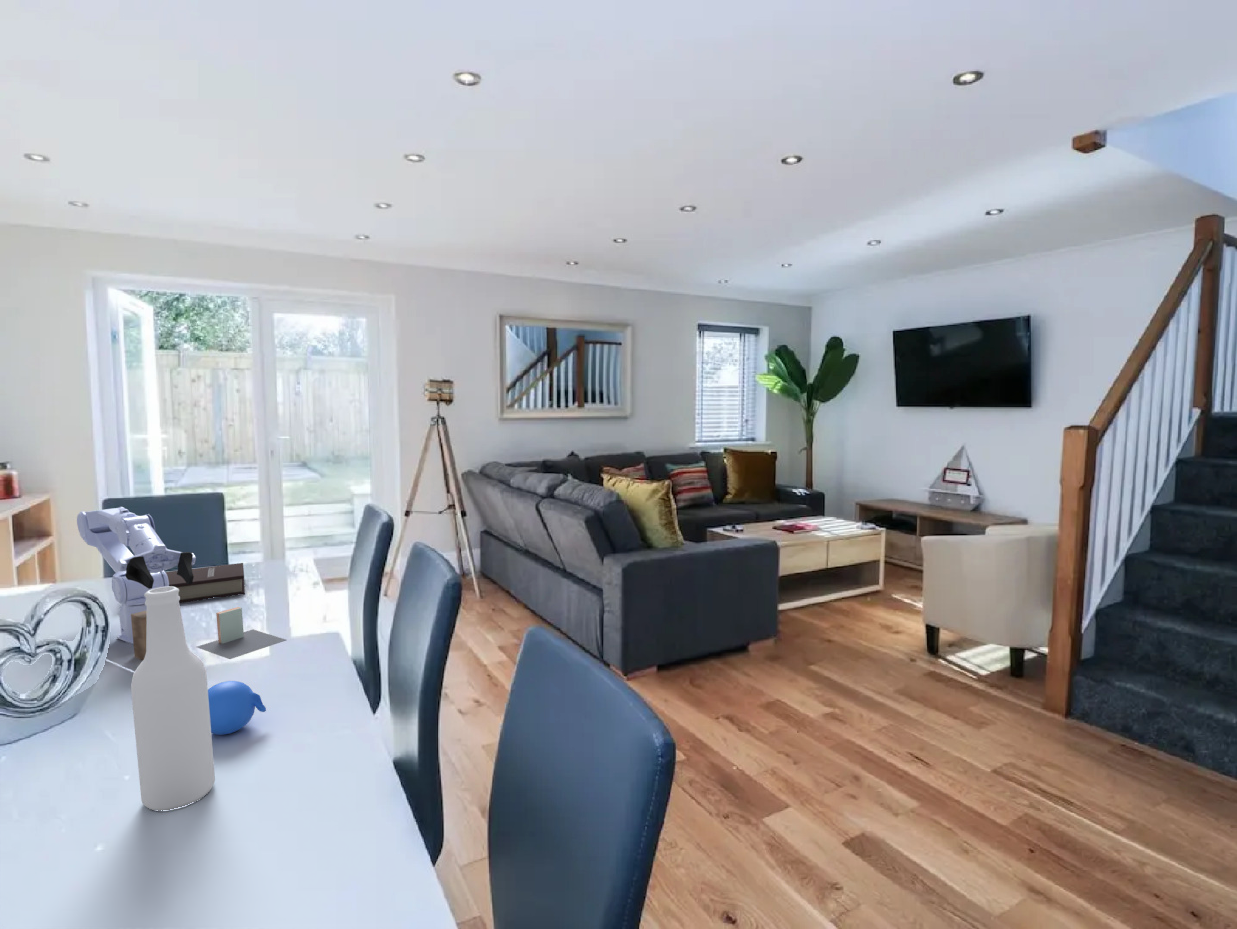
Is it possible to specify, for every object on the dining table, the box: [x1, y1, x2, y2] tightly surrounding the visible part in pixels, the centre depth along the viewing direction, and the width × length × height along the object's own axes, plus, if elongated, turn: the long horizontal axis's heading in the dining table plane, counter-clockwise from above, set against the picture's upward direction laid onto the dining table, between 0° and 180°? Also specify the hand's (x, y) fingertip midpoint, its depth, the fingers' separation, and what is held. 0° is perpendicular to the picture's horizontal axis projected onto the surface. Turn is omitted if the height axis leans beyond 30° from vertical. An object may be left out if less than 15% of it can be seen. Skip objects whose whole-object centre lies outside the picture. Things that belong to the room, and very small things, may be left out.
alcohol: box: [130, 586, 216, 811], centre depth 94 cm, size 9×9×30 cm
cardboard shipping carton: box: [131, 610, 147, 661], centre depth 146 cm, size 5×3×10 cm, turn 58°
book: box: [165, 562, 246, 604], centre depth 196 cm, size 28×20×6 cm
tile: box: [216, 606, 245, 644], centre depth 156 cm, size 2×5×7 cm, turn 148°
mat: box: [196, 629, 287, 660], centre depth 154 cm, size 14×13×1 cm
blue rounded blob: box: [208, 680, 267, 736], centre depth 116 cm, size 12×12×8 cm
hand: (171, 582), depth 145 cm, fingers open, 7 cm apart
